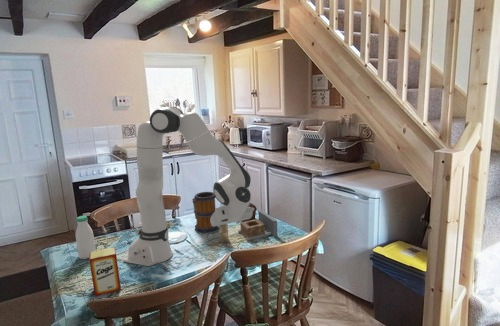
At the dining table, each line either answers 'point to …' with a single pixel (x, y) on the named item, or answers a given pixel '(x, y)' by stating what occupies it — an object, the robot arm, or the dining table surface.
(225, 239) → the dowel
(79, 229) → the milk bottle
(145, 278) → the dining table surface
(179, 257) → the dining table surface
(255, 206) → the muffin
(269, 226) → the backstop
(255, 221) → the socket block
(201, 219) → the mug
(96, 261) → the baking soda box
